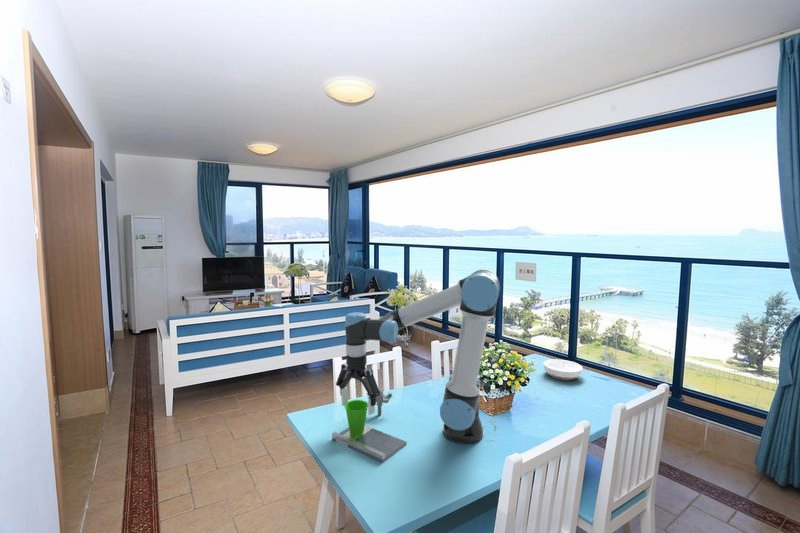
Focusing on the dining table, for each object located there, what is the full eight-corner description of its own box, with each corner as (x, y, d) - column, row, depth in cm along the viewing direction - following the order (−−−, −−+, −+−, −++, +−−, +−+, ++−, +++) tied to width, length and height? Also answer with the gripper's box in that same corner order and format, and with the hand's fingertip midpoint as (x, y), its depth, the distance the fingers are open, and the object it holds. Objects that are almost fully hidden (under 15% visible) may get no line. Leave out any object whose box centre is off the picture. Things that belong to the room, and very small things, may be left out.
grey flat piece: (406, 444, 143) (406, 437, 142) (382, 462, 131) (382, 455, 131) (357, 424, 157) (357, 418, 156) (332, 439, 145) (332, 433, 145)
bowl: (546, 382, 202) (547, 370, 201) (539, 368, 221) (540, 358, 220) (587, 384, 199) (587, 373, 198) (576, 371, 218) (576, 360, 217)
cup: (340, 435, 146) (340, 407, 145) (352, 424, 155) (352, 398, 153) (361, 440, 143) (361, 412, 142) (372, 429, 151) (372, 401, 150)
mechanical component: (390, 418, 162) (390, 394, 161) (366, 415, 164) (366, 392, 163) (392, 414, 165) (392, 392, 164) (368, 412, 167) (368, 389, 166)
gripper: (388, 357, 141) (390, 413, 143) (339, 346, 156) (341, 397, 158) (375, 363, 135) (377, 421, 137) (325, 351, 150) (327, 404, 152)
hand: (357, 408), depth 148 cm, fingers open, 13 cm apart
